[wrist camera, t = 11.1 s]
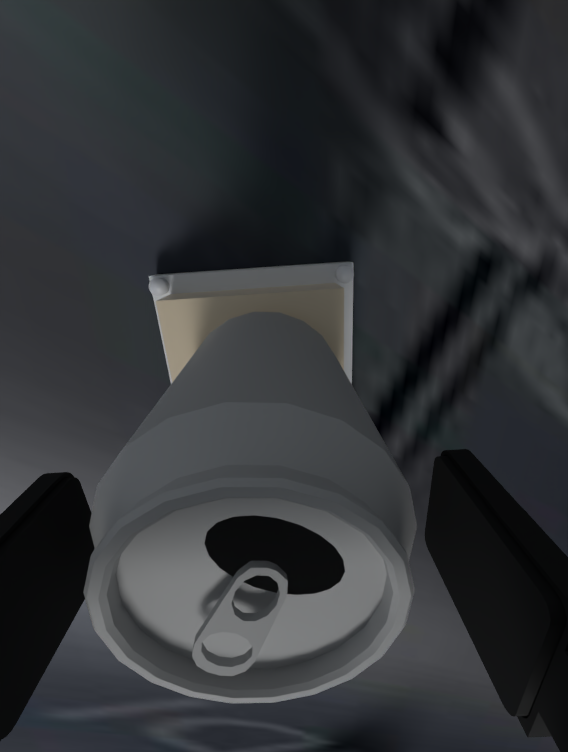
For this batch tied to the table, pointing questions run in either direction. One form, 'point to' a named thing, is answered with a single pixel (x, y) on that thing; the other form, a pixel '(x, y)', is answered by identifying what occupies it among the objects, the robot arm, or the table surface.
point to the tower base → (253, 304)
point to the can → (253, 525)
